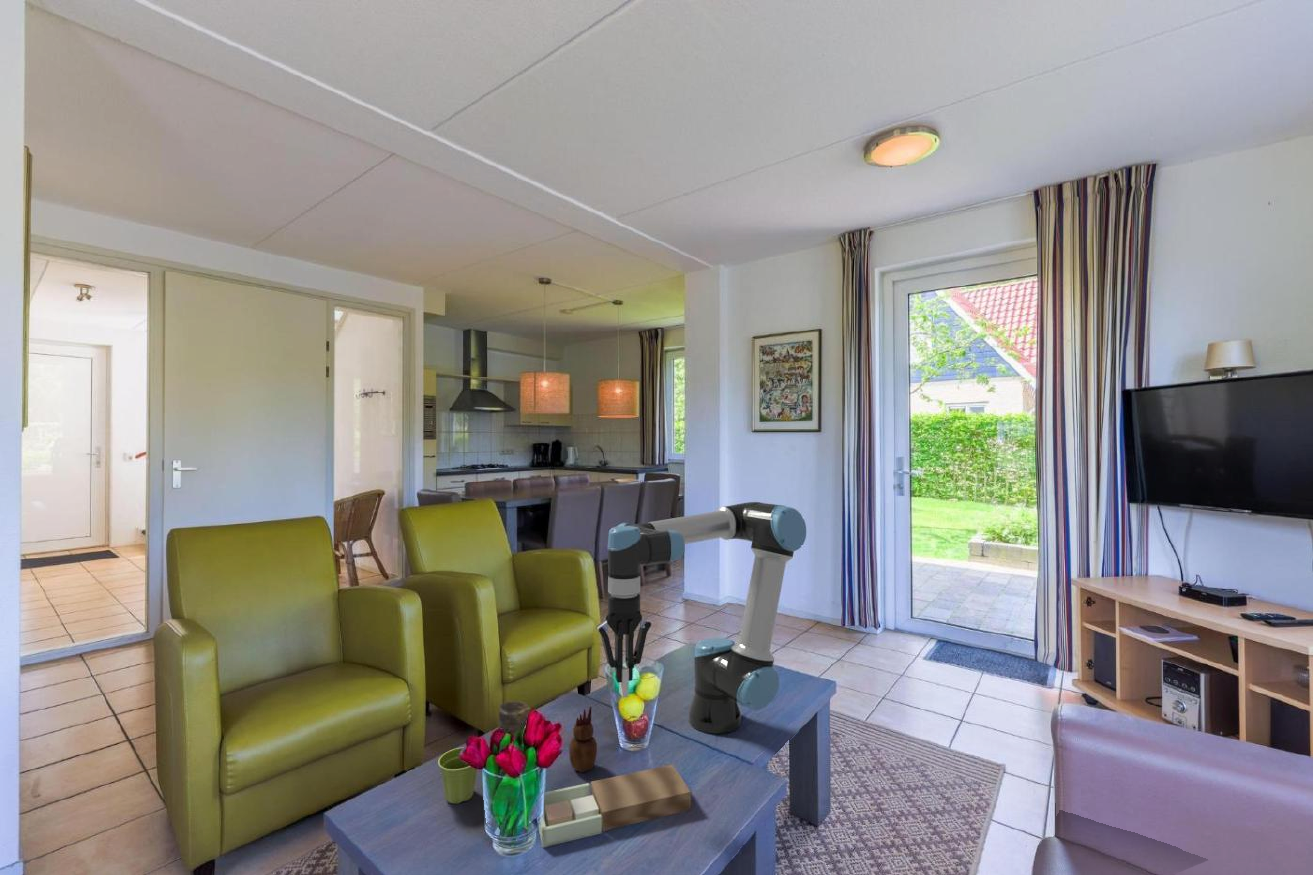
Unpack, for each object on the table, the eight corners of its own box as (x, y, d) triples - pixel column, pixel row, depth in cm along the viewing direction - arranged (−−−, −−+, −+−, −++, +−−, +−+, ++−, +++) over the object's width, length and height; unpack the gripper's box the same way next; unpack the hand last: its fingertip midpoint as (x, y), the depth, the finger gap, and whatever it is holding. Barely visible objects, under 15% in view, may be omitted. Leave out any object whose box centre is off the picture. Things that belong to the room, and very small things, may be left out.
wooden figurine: (598, 762, 143) (598, 703, 143) (594, 775, 137) (594, 714, 137) (572, 760, 144) (572, 701, 144) (566, 774, 138) (566, 712, 138)
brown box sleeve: (672, 781, 135) (672, 764, 135) (690, 809, 125) (690, 791, 125) (590, 799, 129) (590, 781, 128) (602, 831, 118) (602, 812, 118)
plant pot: (452, 780, 135) (452, 744, 135) (488, 785, 134) (488, 748, 134) (429, 806, 126) (429, 767, 126) (468, 811, 124) (468, 772, 124)
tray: (588, 798, 129) (588, 783, 129) (601, 833, 118) (601, 816, 118) (534, 810, 125) (534, 794, 125) (542, 847, 113) (542, 830, 113)
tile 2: (592, 806, 125) (592, 794, 125) (598, 820, 121) (598, 808, 121) (570, 811, 124) (570, 800, 124) (575, 826, 119) (575, 814, 119)
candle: (501, 782, 135) (501, 699, 134) (532, 781, 135) (533, 697, 135) (495, 803, 127) (495, 714, 127) (528, 801, 128) (528, 713, 127)
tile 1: (544, 805, 122) (544, 817, 122) (548, 820, 117) (548, 832, 117) (567, 800, 123) (567, 811, 123) (572, 814, 119) (572, 826, 119)
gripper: (645, 587, 137) (645, 683, 137) (592, 592, 133) (592, 692, 133) (655, 595, 130) (655, 697, 130) (600, 600, 126) (600, 706, 126)
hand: (624, 694), depth 132 cm, fingers closed
